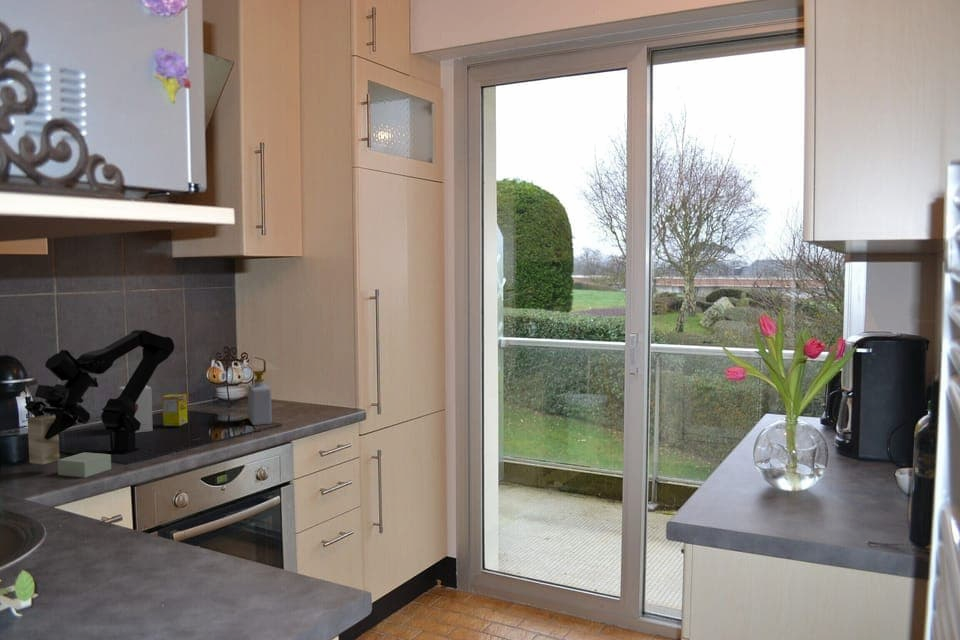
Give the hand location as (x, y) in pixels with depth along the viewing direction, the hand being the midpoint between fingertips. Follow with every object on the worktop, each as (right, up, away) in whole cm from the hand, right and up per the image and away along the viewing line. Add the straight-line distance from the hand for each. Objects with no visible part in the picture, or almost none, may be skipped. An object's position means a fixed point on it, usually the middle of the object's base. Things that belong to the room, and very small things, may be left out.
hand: (38, 438), depth 201 cm
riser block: (+11, -9, +2) cm, 15 cm away
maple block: (+1, -6, +2) cm, 7 cm away
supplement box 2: (+1, -6, +55) cm, 56 cm away
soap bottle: (+39, -5, +69) cm, 80 cm away
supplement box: (+11, -6, +62) cm, 64 cm away
